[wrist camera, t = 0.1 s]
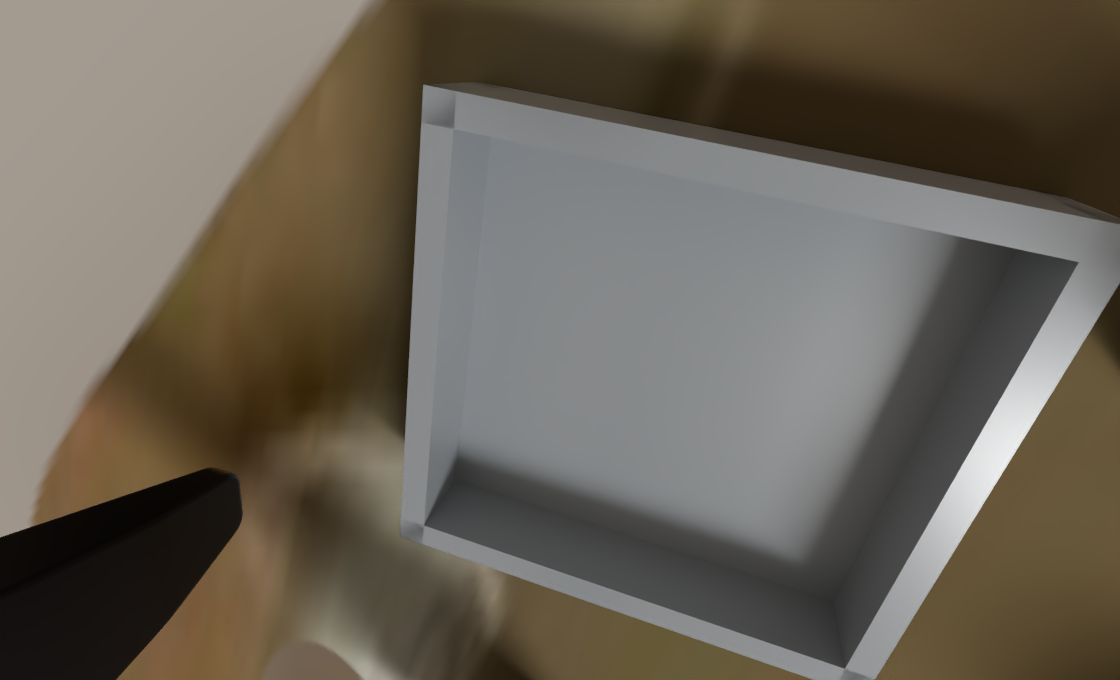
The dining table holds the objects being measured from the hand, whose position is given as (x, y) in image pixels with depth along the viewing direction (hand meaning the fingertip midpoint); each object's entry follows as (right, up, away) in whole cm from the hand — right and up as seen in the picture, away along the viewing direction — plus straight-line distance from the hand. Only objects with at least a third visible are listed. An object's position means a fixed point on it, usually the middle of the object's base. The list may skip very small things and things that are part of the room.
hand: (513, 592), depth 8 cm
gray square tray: (+5, +2, +14) cm, 15 cm away
